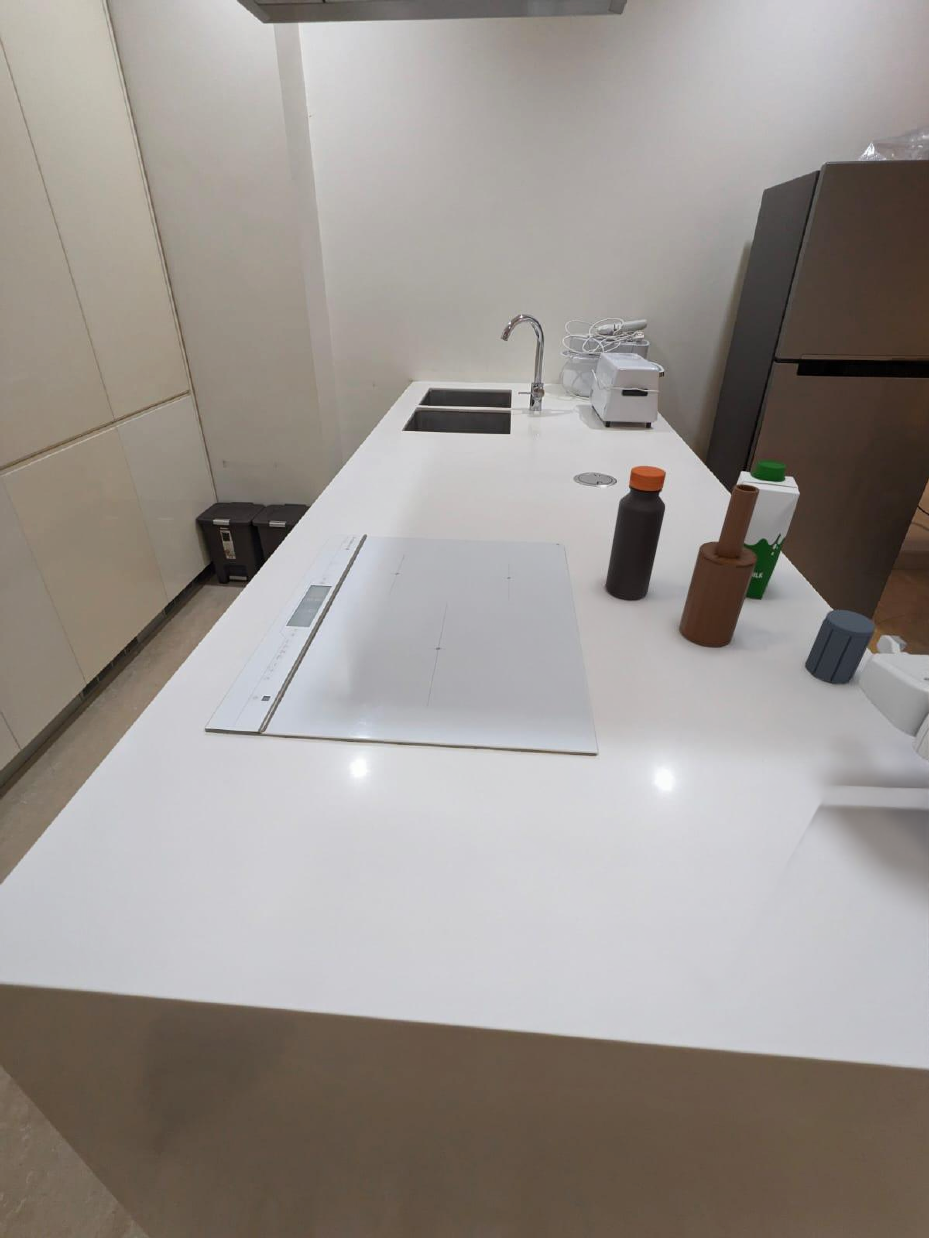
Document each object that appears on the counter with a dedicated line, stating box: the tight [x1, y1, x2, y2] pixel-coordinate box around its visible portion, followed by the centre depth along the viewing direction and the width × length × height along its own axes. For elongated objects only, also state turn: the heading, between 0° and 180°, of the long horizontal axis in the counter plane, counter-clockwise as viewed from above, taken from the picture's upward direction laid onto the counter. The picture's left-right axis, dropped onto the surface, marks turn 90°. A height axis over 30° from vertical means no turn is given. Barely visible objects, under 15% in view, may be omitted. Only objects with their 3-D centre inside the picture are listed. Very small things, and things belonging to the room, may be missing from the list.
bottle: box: [679, 484, 760, 648], centre depth 79 cm, size 7×7×22 cm
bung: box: [804, 609, 876, 685], centre depth 75 cm, size 5×5×8 cm
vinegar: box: [605, 465, 667, 600], centre depth 90 cm, size 7×7×20 cm
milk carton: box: [736, 459, 801, 600], centre depth 92 cm, size 9×9×20 cm
